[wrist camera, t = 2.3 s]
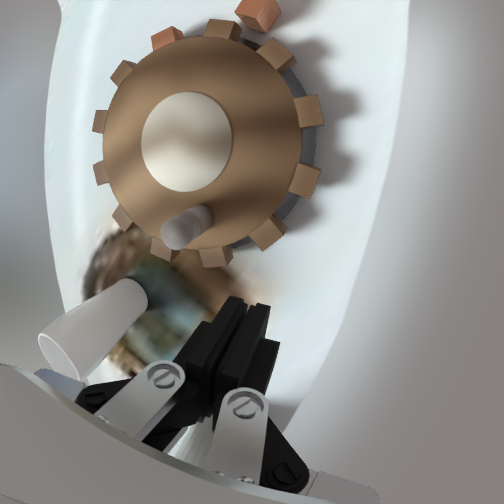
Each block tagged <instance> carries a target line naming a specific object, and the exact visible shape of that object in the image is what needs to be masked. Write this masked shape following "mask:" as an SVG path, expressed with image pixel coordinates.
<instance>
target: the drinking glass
mask: <svg viewBox="0 0 504 504" xmlns="http://www.w3.org/2000/svg"><path fill="white" fill-rule="evenodd" d="M147 306H148V299H147V295H146V293H145V291H144V289H143V288H142V287H141V285H140V284H139V283H137V282H136V281H134V280H132V279H129V278H124V279H121V280H119V281H118V282H116V283H115V284H114V285H112V286H111V287H109V288H107V289H105V290H104V291H102V292H100V293H99V294H97V295H95V296H94V297H92V298H90V299H88V300H87V301H85V302H83V303H82V304H80V305H78V306H76V307H75V308H73V309H71V310H70V311H68V312H67V313H65V314H64V315H62V316H61V317H59V318H58V319H57V320H55V321H54V322H53V323H52V324H50V325H49V326H48V327H47V328H46V329H45V330H44V331H42V332H41V333H40V334H39V336H38V342H39V345H40V348H41V350H42V352H43V354H44V356H45V357H46V359H47V361H48V362H49V363H50V365H51V366H52V367H53V368H54V370H55V371H56V372H57V373H59V374H62V375H65V376H67V377H70V378H73V379H75V380H78V381H81V382H82V381H83V380H84V379H86V378H87V377H88V376H89V375H90V374H91V373H92V372H93V371H94V370H95V369H96V368H97V367H98V366H99V365H100V363H101V362H102V361H103V360H104V359H105V358H106V356H107V355H108V354H109V353H110V351H111V350H112V349H113V348H114V346H115V345H116V344H117V343H118V341H119V340H120V339H121V338H122V336H123V335H124V334H125V333H126V332H127V330H128V329H129V328H130V327H131V326H132V324H133V323H134V322H135V321H136V320H137V319H138V318H139V317H140V316H141V315H142V314H143V313H144V312H145V310H146V309H147Z"/></svg>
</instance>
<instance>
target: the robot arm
mask: <svg viewBox="0 0 504 504" xmlns="http://www.w3.org/2000/svg"><path fill="white" fill-rule="evenodd" d="M247 306H248V304H246V303H244V300H243V299H241V298H237V297H233V296H229V297H228V299H227V300H226V302H225V303H224V305H223V306H222V308H221V309H220V311H219V312H218V314H217V315H216V317H215V318H214V320H213V321H212V323H209V322H206V321H202V322H201V323H200V324H199V326H198V327H197V328H196V330H195V331H194V333H193V334H192V335H191V337H190V338H189V339H188V341H187V342H186V344H185V345H184V346H183V348H182V349H181V350H180V352H179V353H178V355H177V356H176V357H175V359H174V360H173V362H171V361H164V360H163V361H156V362H153V363H151V364H150V365H148V366H147V367H146V368H145V369H143V370H142V371H141V372H140V373H139V374H138V375H137V376H136V377H135V378H131V379H126V380H120V381H114V382H108V383H101V384H94V385H90V386H86V385H85V383H84V382H81V381H78V380H75V379H73V378H70V377H67V376H65V375H62V374H59V373H57V372H54V371H52V370H49V369H40V370H38V371H36V372H35V373H34V374H33V373H31V372H29V371H27V370H25V369H23V368H20V367H18V366H14V365H11V364H6V363H0V504H380V497H379V494H378V493H377V491H376V490H375V489H373V488H371V487H369V486H366V485H362V484H359V483H355V482H352V481H349V480H345V479H342V478H340V477H336V476H334V475H331V474H328V473H325V472H322V471H319V472H316V471H313V470H311V469H308V468H307V466H306V464H305V463H304V462H303V461H302V459H301V458H300V457H299V456H298V454H297V453H296V452H295V451H294V449H293V448H292V447H291V446H290V444H289V443H288V442H287V440H286V439H285V438H284V436H283V435H282V434H281V432H280V431H279V430H278V428H277V427H276V426H275V424H274V423H273V422H272V420H271V419H270V418H269V416H268V411H269V405H268V401H267V399H266V397H265V393H266V390H267V387H268V384H269V381H270V378H271V375H272V371H273V368H274V365H275V361H276V358H277V354H278V350H279V346H280V342H277V341H273V340H269V339H266V338H265V334H266V329H267V324H268V319H269V314H270V308H271V306H268V305H264V304H260V303H257V304H256V306H254V305H251V306H250V308H249V310H248V311H247ZM191 425H192V426H191ZM188 426H191V427H190V429H189V431H188V433H187V435H186V436H185V438H184V440H183V442H182V444H181V445H180V447H179V449H178V451H177V453H176V454H175V456H174V457H172V456H170V455H168V453H169V452H170V450H171V449H172V448H173V447H174V445H175V444H176V443H177V442H178V441H179V439H180V438H181V437H182V436H183V435H184V433H185V432H186V431H187V429H188Z"/></svg>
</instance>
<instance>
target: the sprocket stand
mask: <svg viewBox="0 0 504 504" xmlns="http://www.w3.org/2000/svg"><path fill="white" fill-rule="evenodd" d="M280 12H281V10H280V8H279V6H278V4H277V2H276V0H242V1H241V2H240V4H239V6H238V7H237V9H236V10H235V13H236V15H237V16H238V17H239V18H240V19H241V20H242V21H243V23H244V24H245V25H246V26H247V27H248V28H250V29H253V30H256V31H259V32H262V33H265V34H267V33H268V31H269V29H270V28H271V26H272V24H273V23H274V21H275V20H276V18H277V16H278V15H279V13H280ZM202 36H203V35H202ZM196 37H199V36H196ZM237 42H238V43H241V44H243V45H245V46H247V47H249V48H251V49H253V50H254V51H257V50H258V49H259V48H261V47H262V46H260V45H258V44H256V43H254V42H251V41H249V40H246V39H243V38H238V41H237ZM281 76H282V78H283V79H284V80H285V82H286V83H287V85H288V86H289V88H290V90H291V92H292V94H293V96H294V98H299V97H305V96H306V94H305V92H304V90H303V88H302V86H301V84H300V82H299V81H298V79H297V78H296V77H295V75H294V74H293V72H292V71H291V70H290V69H288V70H286V71H285V72H284V73H283V74H282V75H281ZM302 130H303V147H302V154H301V162H303V163H306V164H309V165H311V166H312V165H313V160H314V153H315V127H311V128H305V129H302ZM299 197H300V195H297V194H295V193H292V192H288V194H287V196H286V197H285V199H284V201H283V202H282V203H281V204H280V206H279V207H278V208H277V209H276V211H275V212H274V214H275V215H276V216H277V217H278V218H279V219H280V221H281V220H282V219H283V218H284V217H285V216H286V215H287V214H288V212H289V211H290V210H291V209H292V208H293V206H294V205H295V203H296V201H297V200H298V198H299ZM251 241H253V240H252V239H251V238H250V236H249V235H248V236H246V237H244V238H242V239H240V240H238V241H236V242H234V243H231V244H230V245H231V248H235V247H238V246H241V245H244V244H247V243H249V242H251ZM195 250H196V249H195Z"/></svg>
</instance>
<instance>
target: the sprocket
mask: <svg viewBox="0 0 504 504" xmlns="http://www.w3.org/2000/svg"><path fill="white" fill-rule="evenodd" d="M241 30H242V29H241V27H240V26H239V25H238V24H237V23H236V22H235V21H227V20H217V19H209V22H208V25H207V27H206V30H205V33H204V35H203V36H199V37H189V38H185V39H184V38H183V33H182V31H180V30H178V29H176V28H175V27H173V26H171V27H169V28H167V29H165V30H163V31H161V32H159V33H157V34H155V35H153V36H151V40H152V46H153V52H152V53H150V54H149V55H147V56H146V57H145V58H143V59H142V60H141V61H140V62H139V63H138V64H136V63H133V62H129V61H126V60H123V61H122V62H121V64H120V65H119V66H118V68H117V69H116V70H115V72H114V73H113V74H112V76H111V77H110V79H111V80H112V81H113V82H114V83H115V84H116V85H117V86H118V89H117V91H116V93H115V95H114V97H113V99H112V101H111V104H110V106H109V109H108V110H96V113H95V118H94V123H93V128H92V131H93V132H97V133H101V134H103V160H102V161H100V162H98V163H96V164H94V165H93V169H94V173H95V178H96V182H97V186H98V185H102V184H105V183H109V184H110V186H111V189H112V191H113V194H114V195H115V197H116V199H117V201H118V203H119V206H118V207H117V209H116V210H115V212H114V213H113V215H112V217H113V218H114V219H115V221H116V222H117V223H118V224H119V226H120V227H121V228H122V230H123V231H124V232H126V231H128V230H130V229H132V228H134V227H136V225H137V226H139V227H140V228H141V229H142V230H143V231H145V232H146V233H148V234H149V235H151V236H152V237H153V238H152V245H151V252H150V253H152V254H154V255H156V256H158V257H160V258H162V259H164V260H167V261H169V262H170V261H171V260H173V259H174V258H175V257H177V256H178V255H179V253H180V249H182V248H185V249H196V250H199V253H200V257H201V260H202V264H203V267H204V268H209V267H219V266H227V265H228V264H229V262H230V261H231V260H232V259H233V258H234V257H233V253H232V249H231V245H230V244H231V243H234V242H236V241H238V240H240V239H242V238H244V237H246V236H248V235H249V236H250V238H251V239H252V240H253V241H254V242H255V243H256V245H257V246H258V247H259V248H260V249H261V250H262V252H263V251H264V250H265V249H267V248H268V247H269V246H271V245H272V244H273V243H274V242H276V241H277V240H278V239H280V238H281V237H282V236H284V234H285V232H286V230H287V228H286V227H285V225H284V224H283V223H282V222H281V221H280V219H279V218H278V217H277V216H276V215H275V214H274V212H275V211H276V209H277V208H278V207H279V206H280V204H281V203H282V202H283V201H284V199H285V197H286V196H287V194H288V192H292V193H295V194H297V195H300V196H302V197H305V198H308V199H310V198H311V196H312V193H313V191H314V188H315V185H316V182H317V180H318V177H319V174H320V172H321V169H319V168H317V167H314V166H311V165H309V164H306V163H303V162H301V154H302V147H303V130H302V129H305V128H311V127H317V126H324V122H323V117H322V113H321V108H320V104H319V100H318V96H317V94H316V95H310V96H305V97H299V98H294V96H293V94H292V92H291V90H290V88H289V86H288V85H287V83H286V82H285V80H284V79H283V78H282V76H281V75H282V74H283V73H284V72H285V71H286V70H288V69H289V68H290V67H291V66H292V65H294V64H295V63H296V59H295V57H294V55H293V54H291V53H290V52H289V51H288V50H287V49H286V48H285V47H284V46H282V45H281V44H280V43H279V42H278V41H276V40H275V39H274V38H271V39H270V40H269V41H268V42H267V43H265V44H264V45H263V46H262V47H261V48H259V49H258V50H257V51H254V50H253V49H251V48H249V47H247V46H245V45H243V44H241V43H238V42H237V41H238V38H239V35H240V33H241Z"/></svg>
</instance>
